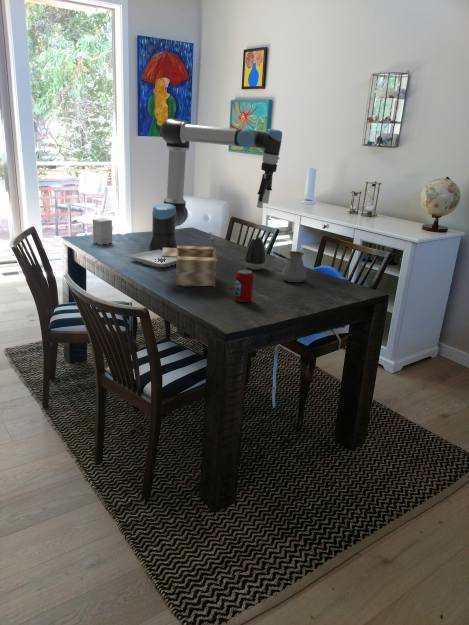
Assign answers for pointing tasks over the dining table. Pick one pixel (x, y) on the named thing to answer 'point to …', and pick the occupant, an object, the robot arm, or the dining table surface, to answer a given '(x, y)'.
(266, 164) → the robot arm
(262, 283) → the dining table surface
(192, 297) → the dining table surface
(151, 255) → the salad plate
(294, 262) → the coffee pot
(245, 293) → the beverage can
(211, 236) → the carton flap
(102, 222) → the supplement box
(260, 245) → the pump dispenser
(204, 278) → the carton
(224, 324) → the dining table surface
